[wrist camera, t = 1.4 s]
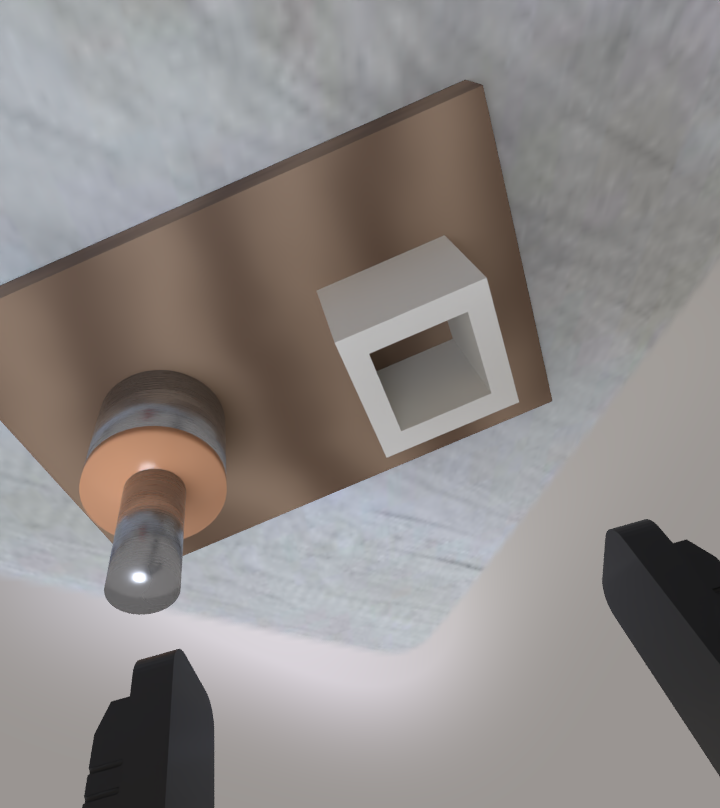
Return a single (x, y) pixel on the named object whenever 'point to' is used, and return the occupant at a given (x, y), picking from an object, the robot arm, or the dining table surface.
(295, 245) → the pipe stand
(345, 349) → the collar
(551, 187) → the dining table surface
